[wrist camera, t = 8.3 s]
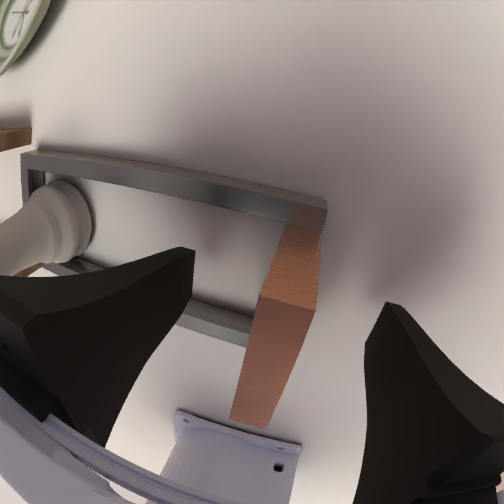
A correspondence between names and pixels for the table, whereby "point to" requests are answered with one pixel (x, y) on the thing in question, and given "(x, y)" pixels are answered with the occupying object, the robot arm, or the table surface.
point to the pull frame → (211, 317)
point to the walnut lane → (10, 140)
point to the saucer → (18, 27)
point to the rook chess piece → (45, 229)
